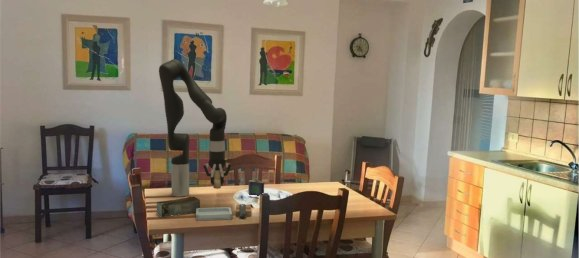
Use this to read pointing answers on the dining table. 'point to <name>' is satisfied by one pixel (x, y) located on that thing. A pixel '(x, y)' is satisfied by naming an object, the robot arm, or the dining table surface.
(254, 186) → the flask
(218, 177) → the tan cylinder
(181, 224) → the dining table surface
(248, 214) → the tan flat block
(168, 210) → the beverage carton
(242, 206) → the stop post
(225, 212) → the tray
